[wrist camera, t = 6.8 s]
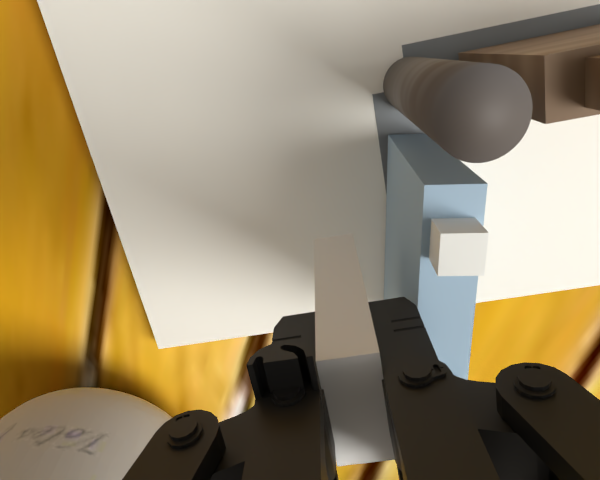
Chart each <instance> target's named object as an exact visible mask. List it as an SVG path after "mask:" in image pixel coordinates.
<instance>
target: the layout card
mask: <svg viewBox="0 0 600 480" xmlns="http://www.w3.org/2000/svg"><path fill="white" fill-rule="evenodd" d="M37 2H38V5H39V8H40V10H41V13H42V16H43V19H44V22H45V25H46V28H47V30H48V33H49V36H50V39H51V42H52V45H53V48H54V51H55V53H56V56H57V59H58V62H59V65H60V68H61V71H62V73H63V76H64V79H65V82H66V85H67V88H68V91H69V93H70V96H71V99H72V102H73V105H74V108H75V111H76V114H77V116H78V119H79V122H80V125H81V128H82V131H83V134H84V136H85V139H86V142H87V145H88V148H89V151H90V154H91V157H92V159H93V162H94V165H95V168H96V171H97V174H98V177H99V179H100V182H101V185H102V188H103V191H104V194H105V197H106V199H107V202H108V205H109V208H110V211H111V214H112V217H113V220H114V222H115V225H116V228H117V231H118V234H119V237H120V240H121V242H122V245H123V248H124V251H125V254H126V257H127V260H128V262H129V265H130V268H131V271H132V274H133V277H134V280H135V283H136V285H137V288H138V291H139V294H140V297H141V300H142V303H143V305H144V308H145V311H146V314H147V317H148V320H149V323H150V326H151V328H152V331H153V334H154V337H155V340H156V343H157V346H158V348H159V349H162V348H169V347H175V346H182V345H189V344H196V343H203V342H210V341H217V340H224V339H231V338H238V337H244V336H251V335H258V334H265V333H272V332H273V331H274V327H275V326H276V325H277V323H278V322H279V321H280V319H281V318H282V317H283V316H289V315H296V314H302V313H309V312H315V276H314V240H315V239H321V238H327V237H333V236H339V235H345V234H351V233H352V234H353V238H354V242H355V247H356V251H357V256H358V260H359V264H360V269H361V273H362V277H363V282H364V286H365V291H366V295H367V299H368V302H372V301H379V300H384V270H385V232H386V194H387V156H388V135H395V134H425V133H424V132H423V131H422V130H420V129H419V128H418V127H417V126H416V125H415V124H413V123H412V122H411V121H410V120H409V119H408V118H406V117H405V116H404V115H403V114H402V113H401V112H399V111H398V110H397V109H396V108H395V107H394V106H392V105H391V104H390V103H389V102H388V100H387V99H386V97H385V94H384V90H383V81H384V77H385V74H386V72H387V70H388V69H389V67H390V66H391V65H392V64H393V63H394V62H396V61H397V60H399V59H401V58H404V57H424V58H435V59H447V60H458V61H459V56H458V53H460V52H465V51H470V50H475V49H480V48H485V47H490V46H494V45H499V44H504V43H509V42H514V41H519V40H524V39H529V38H534V37H539V36H544V35H548V34H553V33H558V32H563V31H568V30H573V29H578V28H583V27H588V26H593V25H598V24H600V0H37ZM460 161H461V160H460ZM461 162H462V163H464V164H465V165H466V166H467V167H468V168H470V169H471V170H472V171H473V172H474V173H476V174H477V175H478V176H479V177H480V178H482V179H483V180H484V181H485V182H486V183H488V186H487V195H486V205H485V215H484V225H483V227H484V228H485V229H486V230H487V231H488V233H489V235H488V244H487V254H486V263H485V272H484V276H478V283H477V293H476V303H479V302H486V301H493V300H499V299H506V298H513V297H520V296H527V295H534V294H541V293H548V292H555V291H561V290H568V289H575V288H582V287H589V286H596V285H600V114H599V115H593V116H588V117H582V118H577V119H571V120H566V121H561V122H555V123H550V124H544V123H541V122H538V121H535V120H532V119H531V121H530V124H529V127H528V129H527V131H526V133H525V135H524V137H523V138H522V139H521V141H520V142H519V143H518V144H517V145H516V146H515V147H514V148H513V149H512V150H511V151H510V152H508V153H507V154H505V155H504V156H502V157H500V158H498V159H495V160H493V161H489V162H484V163H469V162H464V161H461Z"/></svg>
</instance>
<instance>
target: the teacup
mask: <svg viewBox="0 0 600 480" xmlns="http://www.w3.org/2000/svg"><path fill="white" fill-rule="evenodd" d="M171 418H172V417H171V416H170V415H169V414H167V413H166V412H165V411H163V410H162V409H160V408H159V407H157V406H155V405H153V404H151V403H150V402H148V401H146V400H144V399H141V398H139V397H136V396H134V395H130V394H127V393H124V392H120V391H115V390H110V389H103V388H90V387H82V388H70V389H63V390H58V391H53V392H50V393H47V394H43V395H41V396H38V397H36V398H33V399H31V400H29V401H27V402H25V403H23V404H21V405H20V406H18V407H16V408H15V409H14V410H12V411H11V412H9V413H8V414H6V415H5V416H4V417H2V418H1V419H0V480H122V479H123V478H124V476H125V475H126V473H127V472H128V470H129V469H130V468H131V466H132V465H133V463H134V462H135V461H136V459H137V458H138V456H139V455H140V453H141V452H142V451H143V449H144V448H145V446H146V445H147V444H148V442H149V441H150V439H151V438H152V437H153V435H154V434H155V432H156V431H157V430H158V429H159V428H160V427H161V426H162V425H163V424H164V423H165V422H166V421H168V420H170V419H171Z"/></svg>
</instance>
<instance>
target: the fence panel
mask: <svg viewBox="0 0 600 480" xmlns="http://www.w3.org/2000/svg"><path fill="white" fill-rule="evenodd" d="M487 186H488V183H486V182H485V181H484V180H483V179H482V178H480V177H479V176H478V175H477V174H476V173H474V172H473V171H472V170H471V169H470V168H468V167H467V166H466V165H465V164H464V163H462V162H461V161H460V160H458V159H456V158H454V157H453V156H451V155H450V154H448V153H447V152H446V151H445V150H444V149H443V148H441V147H440V146H439V145H438V144H437V143H436V142H434V141H433V140H432V139H431V138H430V137H429V136H427V135H426V134H395V135H388V156H387V194H386V232H385V270H384V300H385V299H392V298H398V297H405V298H407V299H408V300H410V301H411V302H412V303H414V304H415V305H416V306H417V309H418V311H419V314H420V316H421V318H422V321H423V323H424V327H425V328H426V331H427V333H428V335H429V338H430V340H431V343H432V345H433V348H434V350H435V352H436V355H437V357H438V360H439V361H441V362H443V363H445V364H446V365H447V366H448V367H449V369H450V370H451V371H452V373H453V375H455V376H457V377H460V378H463V379H466V380H468V371H469V361H470V351H471V342H472V332H473V322H474V312H475V303H476V293H477V283H478V276H484V272H485V263H486V254H487V244H488V235H489V233H488V231H487V230H486V229H485V228H484V227H483V225H484V215H485V205H486V195H487Z"/></svg>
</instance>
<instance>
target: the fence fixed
mask: <svg viewBox="0 0 600 480" xmlns="http://www.w3.org/2000/svg"><path fill="white" fill-rule="evenodd" d="M458 56H459V61H458V60H447V59H435V58H424V57H404V58H401V59H399V60H397V61H396V62H394V63H393V64H392V65H391V66H390V67H389V69H388V70H387V72H386V74H385V77H384V81H383V90H384V94H385V97H386V99H387V100H388V102H389V103H390V104H391V105H392V106H394V107H395V108H396V109H397V110H398V111H399V112H401V113H402V114H403V115H404V116H405V117H406V118H408V119H409V120H410V121H411V122H412V123H413V124H415V125H416V126H417V127H418V128H419V129H420V130H422V131H423V132H424V133H425V134H426V135H427V136H429V137H430V138H431V139H432V140H433V141H434V142H436V143H437V144H438V145H439V146H440V147H441V148H443V149H444V150H445V151H446V152H447V153H448V154H450V155H451V156H453V157H454V158H456V159H458V160H461V161H464V162H469V163H484V162H489V161H493V160H495V159H498V158H500V157H502V156H504V155H505V154H507V153H508V152H510V151H511V150H512V149H513V148H514V147H515V146H516V145H517V144H518V143H519V142H520V141H521V139H522V138H523V137H524V135H525V133H526V131H527V129H528V127H529V124H530V121H531V119H532V120H535V121H538V122H541V123H544V124H550V123H555V122H561V121H566V120H571V119H577V118H582V117H588V116H593V115H599V114H600V24H598V25H593V26H588V27H583V28H578V29H573V30H568V31H563V32H558V33H553V34H548V35H544V36H539V37H534V38H529V39H524V40H519V41H514V42H509V43H504V44H499V45H494V46H490V47H485V48H480V49H475V50H470V51H465V52H460V53H458Z"/></svg>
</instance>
